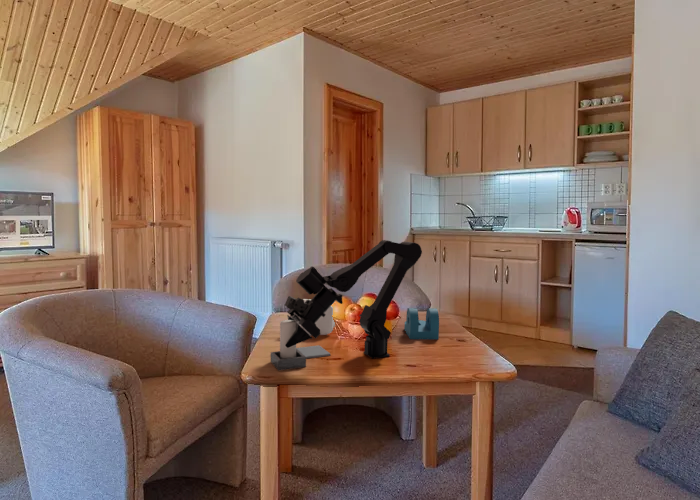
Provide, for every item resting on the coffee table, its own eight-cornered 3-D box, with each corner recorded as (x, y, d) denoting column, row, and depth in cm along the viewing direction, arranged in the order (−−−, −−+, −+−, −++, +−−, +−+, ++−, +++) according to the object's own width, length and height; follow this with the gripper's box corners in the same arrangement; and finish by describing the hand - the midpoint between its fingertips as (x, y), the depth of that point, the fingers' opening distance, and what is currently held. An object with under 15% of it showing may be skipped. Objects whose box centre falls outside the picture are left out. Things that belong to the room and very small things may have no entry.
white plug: (293, 361, 143) (293, 319, 142) (298, 365, 139) (298, 323, 137) (278, 362, 141) (278, 320, 140) (282, 367, 137) (282, 324, 135)
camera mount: (438, 339, 170) (439, 311, 169) (409, 339, 169) (410, 311, 168) (428, 327, 187) (429, 301, 187) (402, 327, 187) (403, 301, 186)
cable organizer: (292, 334, 174) (292, 303, 173) (299, 327, 184) (299, 298, 183) (332, 335, 172) (332, 305, 171) (336, 328, 183) (337, 299, 182)
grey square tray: (297, 358, 145) (297, 349, 145) (305, 366, 138) (306, 357, 137) (270, 361, 142) (270, 352, 142) (278, 370, 134) (278, 360, 134)
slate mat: (319, 347, 158) (319, 345, 158) (330, 355, 149) (330, 353, 149) (290, 350, 154) (290, 348, 154) (300, 359, 145) (300, 357, 144)
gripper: (293, 282, 148) (258, 318, 145) (309, 292, 130) (270, 333, 127) (317, 305, 151) (283, 341, 148) (335, 317, 134) (298, 359, 131)
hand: (283, 343), depth 139 cm, fingers open, 7 cm apart
